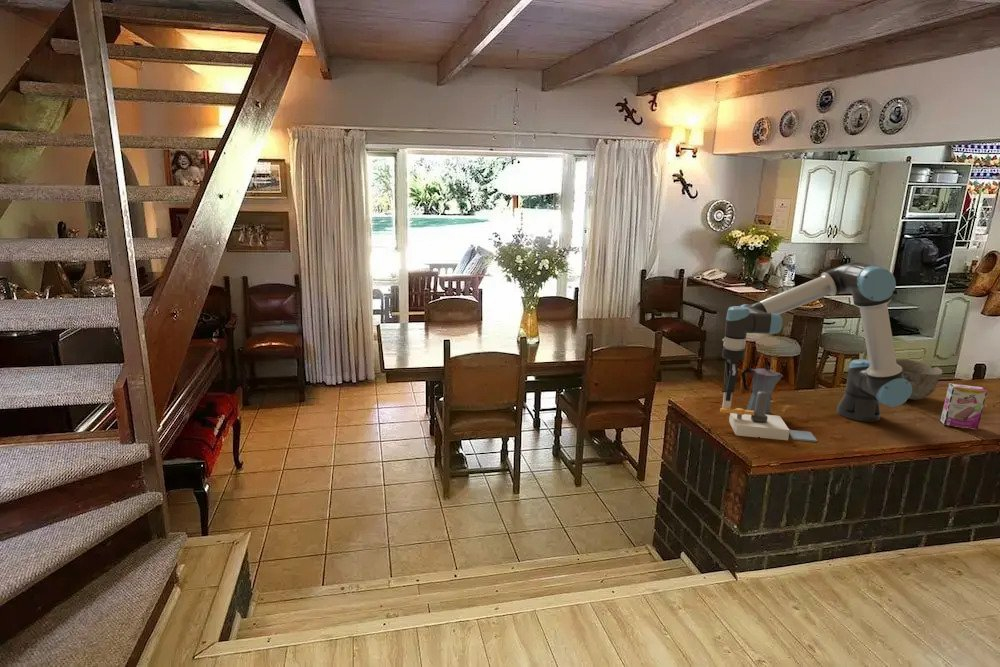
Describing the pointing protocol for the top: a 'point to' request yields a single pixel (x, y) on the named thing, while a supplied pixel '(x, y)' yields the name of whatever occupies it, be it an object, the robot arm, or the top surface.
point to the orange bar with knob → (737, 411)
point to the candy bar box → (963, 405)
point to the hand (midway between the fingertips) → (726, 407)
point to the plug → (760, 408)
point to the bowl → (920, 377)
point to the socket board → (759, 427)
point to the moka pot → (761, 385)
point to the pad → (802, 435)
